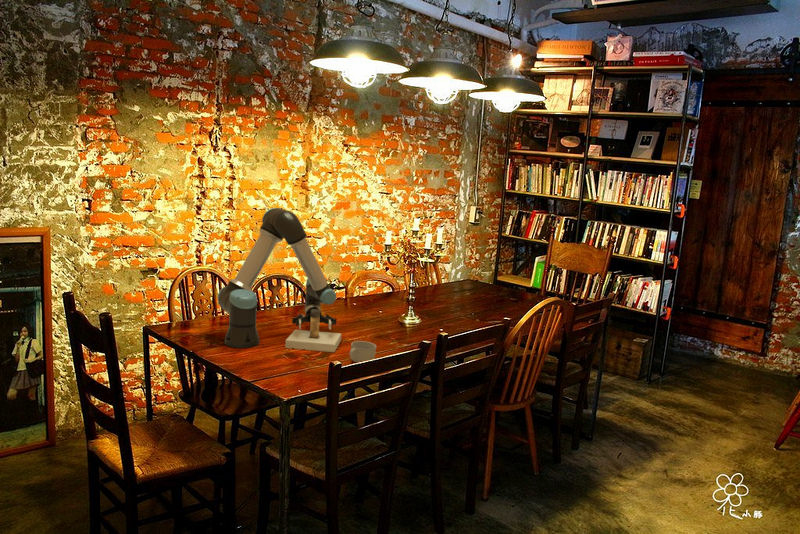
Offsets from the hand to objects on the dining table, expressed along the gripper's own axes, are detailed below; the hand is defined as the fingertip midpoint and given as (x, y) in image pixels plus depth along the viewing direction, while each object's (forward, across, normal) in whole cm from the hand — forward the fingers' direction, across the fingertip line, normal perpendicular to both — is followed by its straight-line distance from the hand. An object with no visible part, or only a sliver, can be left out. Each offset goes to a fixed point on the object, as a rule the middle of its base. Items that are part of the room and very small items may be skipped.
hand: (315, 326), depth 282 cm
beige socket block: (-3, 0, -10) cm, 10 cm away
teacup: (+22, -18, -10) cm, 30 cm away
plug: (-3, 0, -10) cm, 10 cm away
